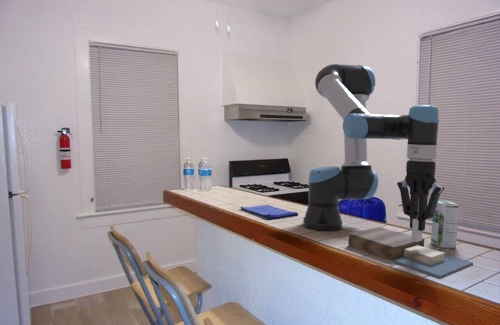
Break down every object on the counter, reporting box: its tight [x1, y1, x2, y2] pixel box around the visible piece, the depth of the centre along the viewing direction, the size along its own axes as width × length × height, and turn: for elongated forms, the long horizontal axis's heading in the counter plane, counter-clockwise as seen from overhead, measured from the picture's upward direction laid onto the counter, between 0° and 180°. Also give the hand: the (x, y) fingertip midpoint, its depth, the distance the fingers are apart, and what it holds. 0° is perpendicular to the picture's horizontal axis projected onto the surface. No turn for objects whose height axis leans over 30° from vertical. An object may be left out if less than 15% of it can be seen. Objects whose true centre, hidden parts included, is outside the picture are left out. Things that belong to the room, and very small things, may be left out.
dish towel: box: [240, 204, 299, 220], centre depth 157 cm, size 17×24×3 cm
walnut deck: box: [348, 226, 425, 262], centre depth 108 cm, size 16×16×4 cm
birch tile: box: [404, 245, 446, 265], centre depth 98 cm, size 8×7×2 cm
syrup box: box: [430, 200, 460, 249], centre depth 112 cm, size 6×6×14 cm
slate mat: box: [392, 254, 474, 279], centre depth 95 cm, size 13×18×1 cm
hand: (416, 240), depth 99 cm, fingers closed
